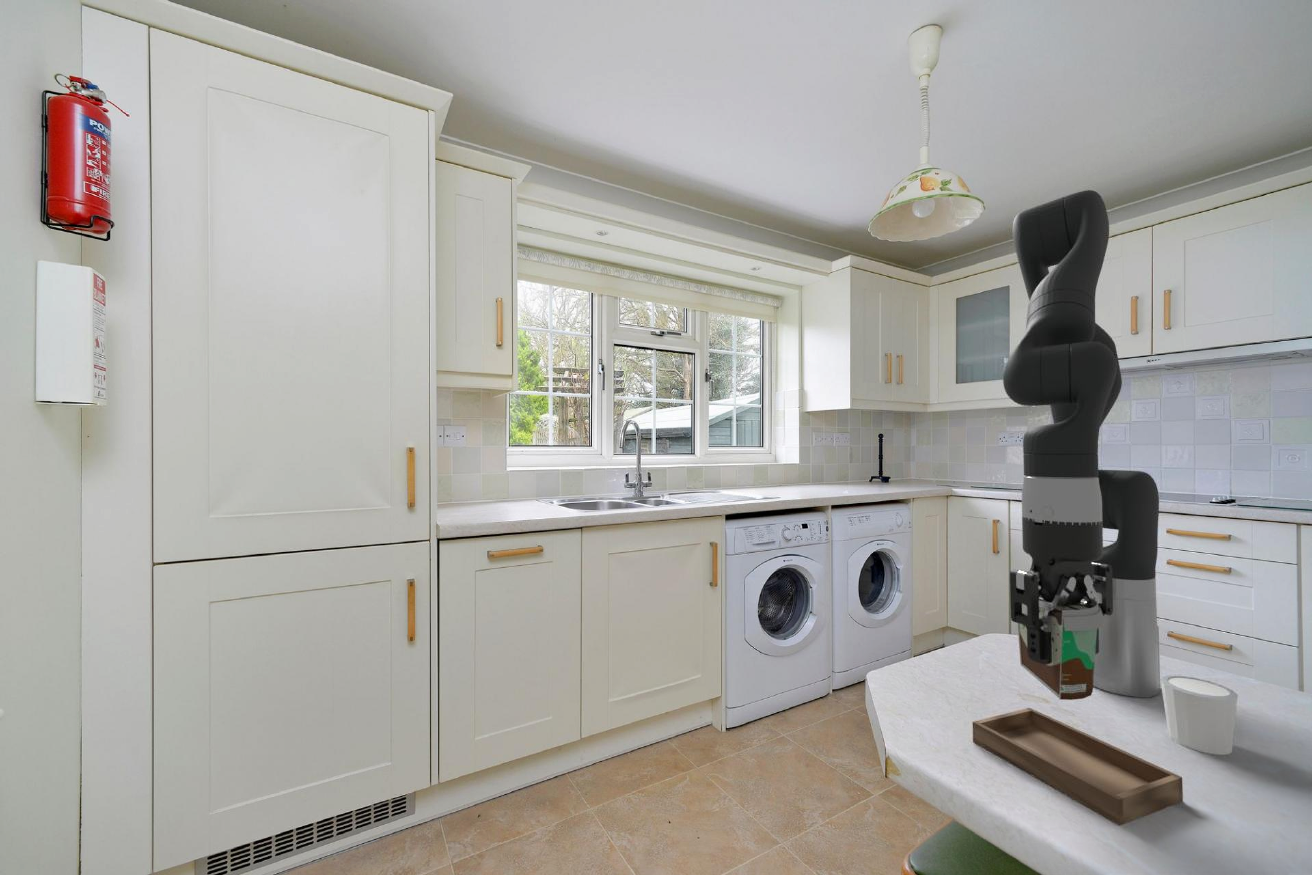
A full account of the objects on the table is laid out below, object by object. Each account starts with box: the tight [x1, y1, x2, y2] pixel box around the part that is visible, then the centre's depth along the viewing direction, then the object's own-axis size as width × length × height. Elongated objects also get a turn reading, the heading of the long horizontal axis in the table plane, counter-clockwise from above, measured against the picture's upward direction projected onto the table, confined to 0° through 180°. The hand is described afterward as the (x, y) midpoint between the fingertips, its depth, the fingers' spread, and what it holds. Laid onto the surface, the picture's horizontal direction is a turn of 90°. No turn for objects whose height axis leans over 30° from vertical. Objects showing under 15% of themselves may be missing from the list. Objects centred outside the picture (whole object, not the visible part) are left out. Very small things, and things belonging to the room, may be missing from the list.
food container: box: [1017, 596, 1105, 701], centre depth 63 cm, size 12×6×10 cm, turn 169°
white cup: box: [1160, 675, 1239, 756], centre depth 68 cm, size 7×7×7 cm
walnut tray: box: [972, 707, 1184, 826], centre depth 63 cm, size 10×16×2 cm, turn 20°
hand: (1063, 656), depth 63 cm, fingers closed on food container, 7 cm apart
